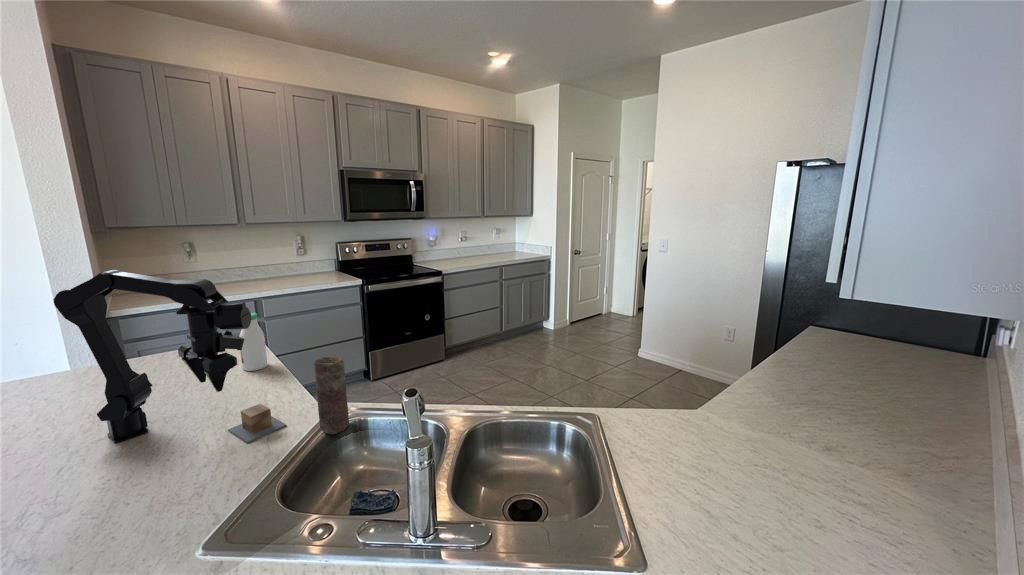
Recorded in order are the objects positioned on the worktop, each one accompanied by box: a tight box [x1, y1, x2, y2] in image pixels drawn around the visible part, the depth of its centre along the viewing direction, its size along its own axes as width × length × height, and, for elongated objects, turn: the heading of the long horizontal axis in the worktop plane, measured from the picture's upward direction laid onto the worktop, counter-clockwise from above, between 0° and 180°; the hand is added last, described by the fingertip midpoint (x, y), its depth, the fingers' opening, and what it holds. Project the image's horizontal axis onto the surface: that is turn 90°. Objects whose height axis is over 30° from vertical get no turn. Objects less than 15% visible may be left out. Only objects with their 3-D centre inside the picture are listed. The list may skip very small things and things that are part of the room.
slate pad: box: [227, 415, 287, 445], centre depth 110 cm, size 10×10×1 cm
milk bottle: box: [239, 312, 268, 372], centre depth 146 cm, size 8×8×20 cm
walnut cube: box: [240, 403, 272, 434], centre depth 109 cm, size 5×5×5 cm
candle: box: [313, 356, 350, 435], centre depth 109 cm, size 8×7×20 cm
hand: (211, 386), depth 107 cm, fingers open, 9 cm apart
